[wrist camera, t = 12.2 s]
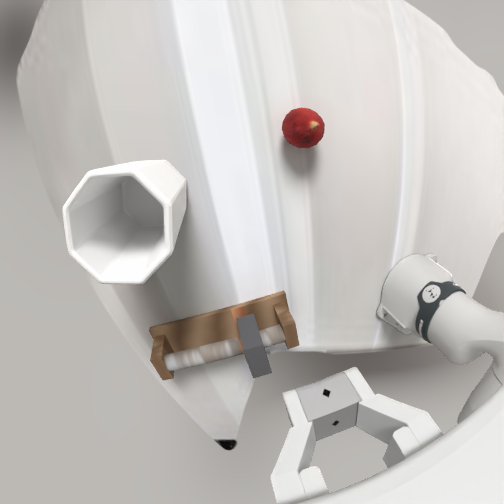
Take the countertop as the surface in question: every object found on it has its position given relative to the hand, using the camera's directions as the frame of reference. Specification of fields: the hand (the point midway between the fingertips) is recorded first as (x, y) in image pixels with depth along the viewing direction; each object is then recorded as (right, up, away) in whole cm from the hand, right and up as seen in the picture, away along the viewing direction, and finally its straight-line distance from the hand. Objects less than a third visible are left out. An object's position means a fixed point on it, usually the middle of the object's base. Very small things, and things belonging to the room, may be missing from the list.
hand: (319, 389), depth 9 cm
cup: (-17, +14, +29) cm, 36 cm away
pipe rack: (-8, -9, +39) cm, 41 cm away
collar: (-3, -8, +37) cm, 38 cm away
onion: (+4, +24, +29) cm, 38 cm away
